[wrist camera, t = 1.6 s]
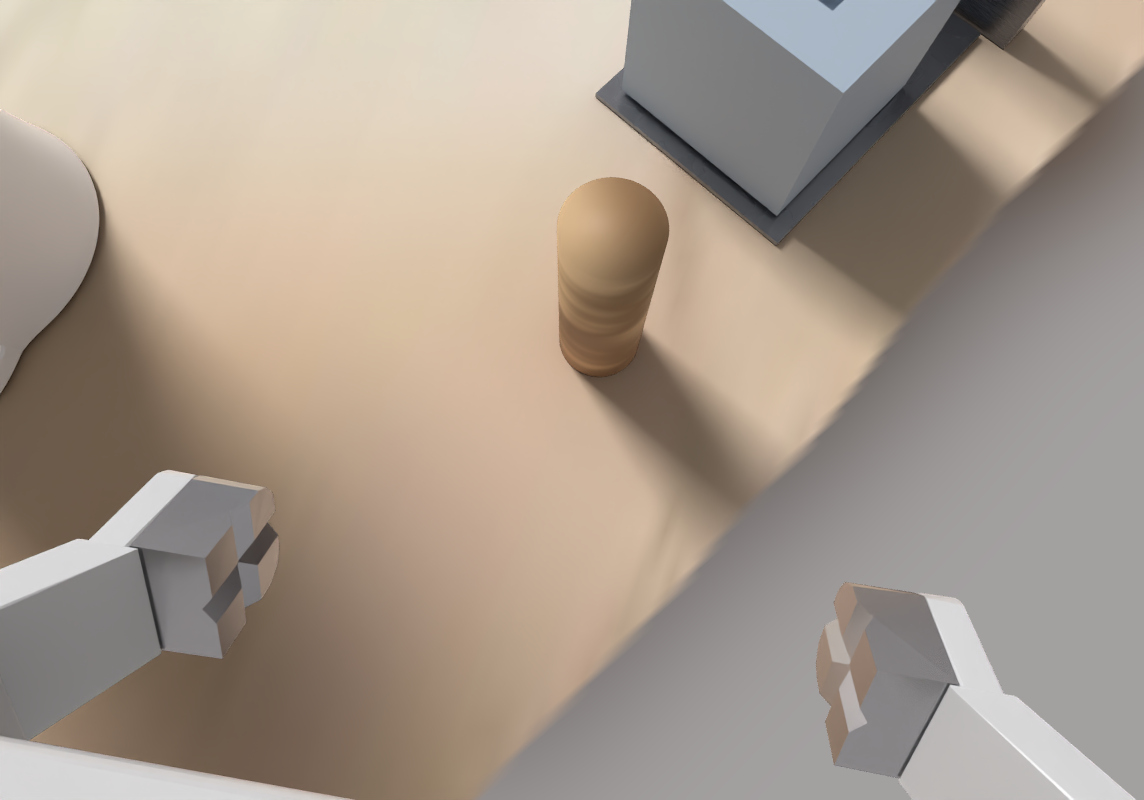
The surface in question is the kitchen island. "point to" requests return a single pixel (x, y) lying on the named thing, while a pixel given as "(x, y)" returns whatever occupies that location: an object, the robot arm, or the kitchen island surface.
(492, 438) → the kitchen island surface
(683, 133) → the socket block
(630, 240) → the dowel
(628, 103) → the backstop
